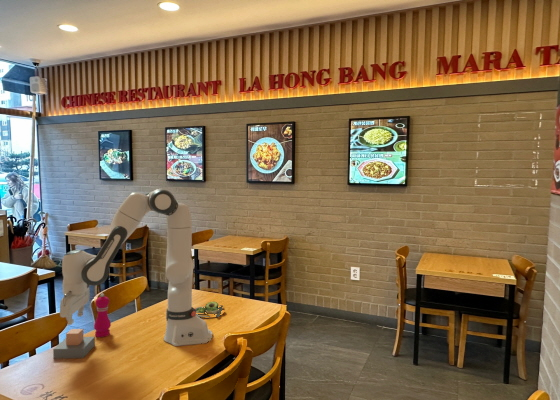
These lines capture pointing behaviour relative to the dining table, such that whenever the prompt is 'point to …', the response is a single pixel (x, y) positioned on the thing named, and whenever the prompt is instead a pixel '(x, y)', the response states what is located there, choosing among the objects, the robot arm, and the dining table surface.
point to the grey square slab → (74, 349)
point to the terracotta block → (74, 337)
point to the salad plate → (210, 309)
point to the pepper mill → (102, 317)
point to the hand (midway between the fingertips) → (75, 320)
